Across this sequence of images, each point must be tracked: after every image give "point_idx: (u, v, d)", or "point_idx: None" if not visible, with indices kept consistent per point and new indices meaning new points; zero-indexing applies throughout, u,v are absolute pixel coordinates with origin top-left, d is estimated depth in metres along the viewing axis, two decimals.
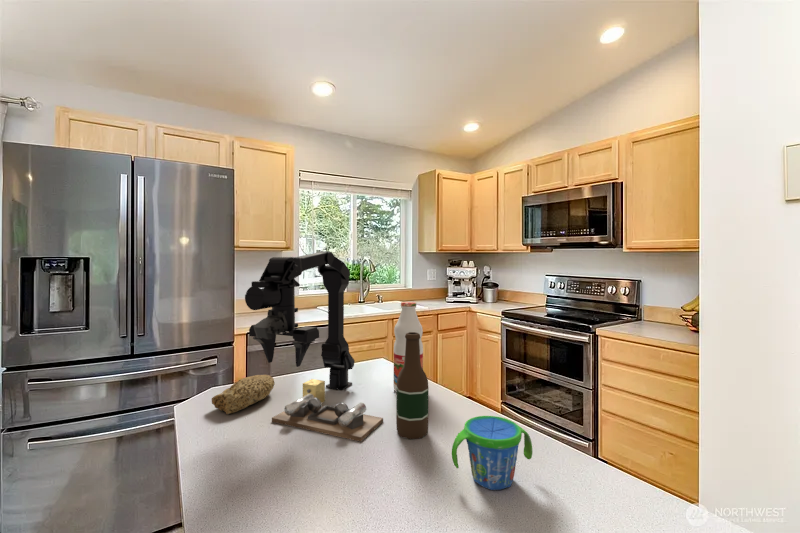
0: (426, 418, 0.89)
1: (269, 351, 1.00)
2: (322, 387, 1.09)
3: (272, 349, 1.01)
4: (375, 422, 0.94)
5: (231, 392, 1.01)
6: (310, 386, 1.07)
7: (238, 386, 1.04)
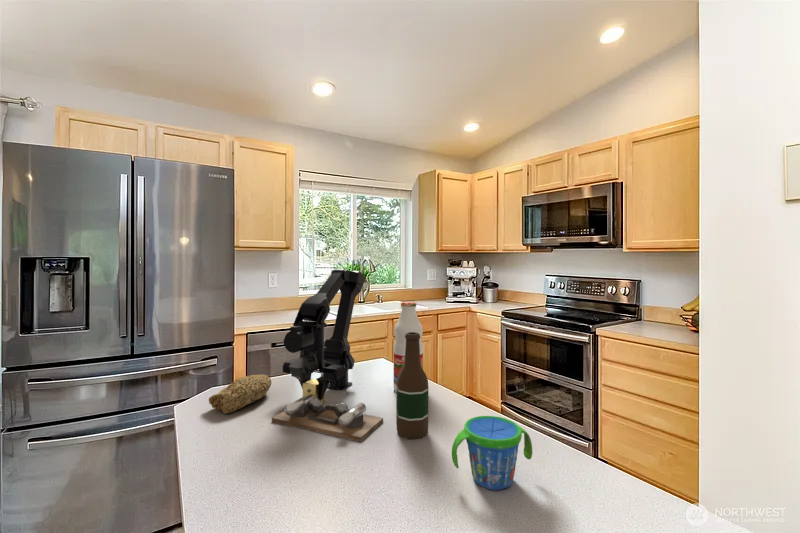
0: (426, 418, 0.89)
1: None
2: None
3: None
4: (375, 422, 0.94)
5: (228, 392, 1.01)
6: (310, 386, 1.07)
7: (235, 386, 1.05)
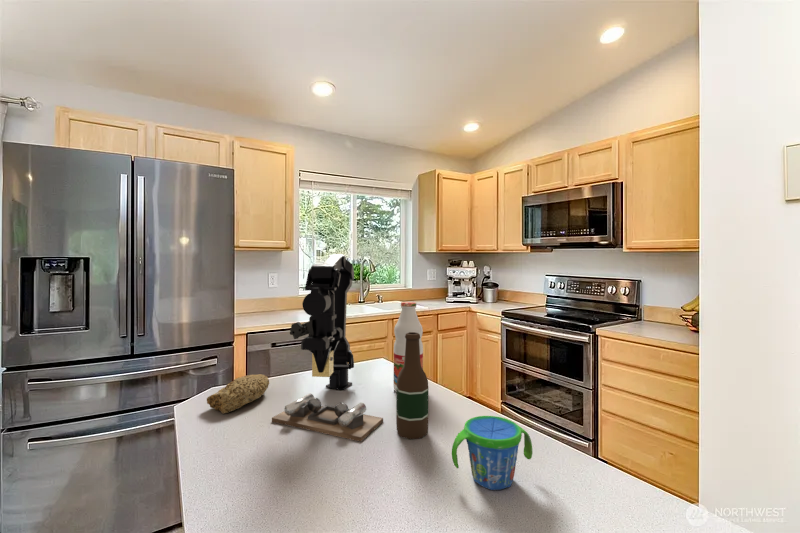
0: (426, 418, 0.89)
1: None
2: None
3: None
4: (375, 422, 0.94)
5: (226, 392, 1.02)
6: None
7: (233, 385, 1.05)
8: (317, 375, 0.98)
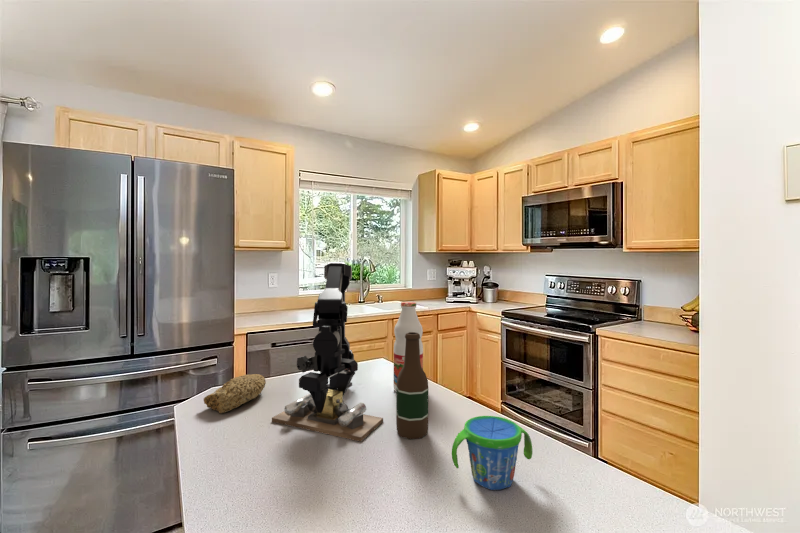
0: (426, 418, 0.89)
1: (339, 388, 1.02)
2: (328, 402, 0.95)
3: (343, 388, 1.01)
4: (375, 422, 0.94)
5: (224, 391, 1.02)
6: None
7: (230, 385, 1.05)
8: (322, 417, 0.96)
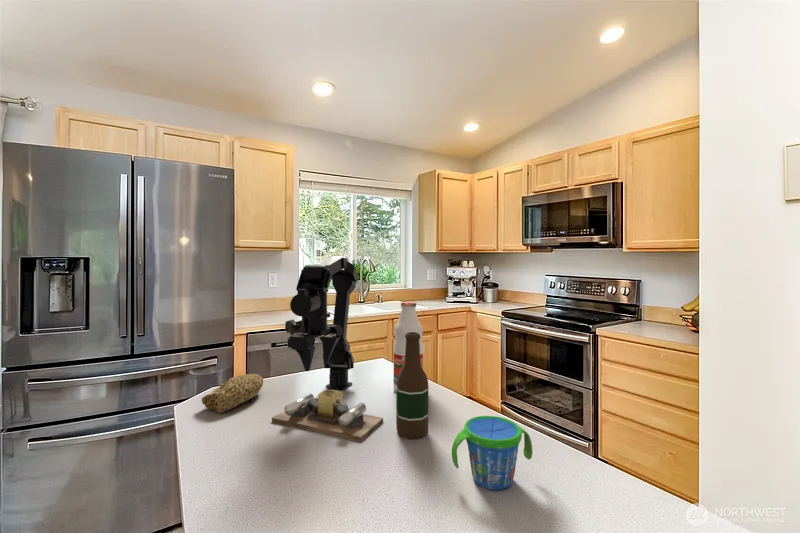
0: (426, 418, 0.89)
1: (325, 351, 1.09)
2: (328, 402, 0.95)
3: (329, 350, 1.09)
4: (375, 422, 0.94)
5: (222, 391, 1.02)
6: None
7: (229, 385, 1.05)
8: (322, 417, 0.96)
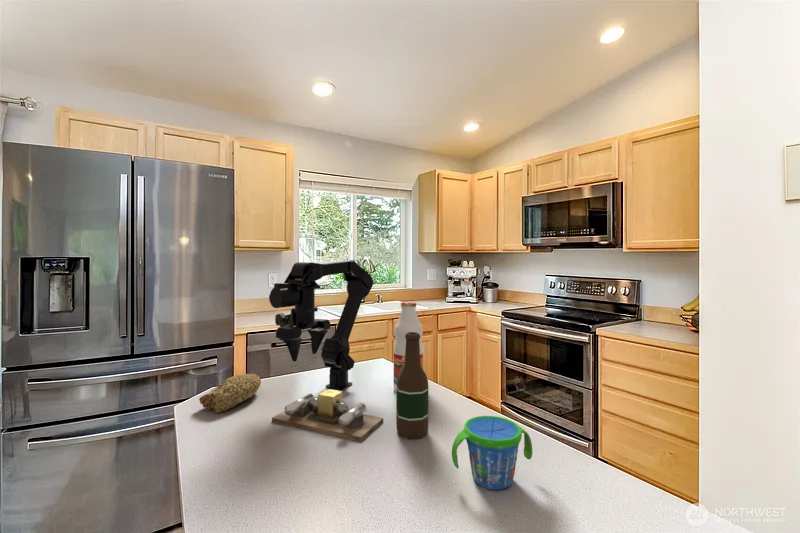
0: (426, 418, 0.89)
1: (313, 344, 1.16)
2: (328, 402, 0.95)
3: (316, 343, 1.15)
4: (375, 422, 0.94)
5: (220, 391, 1.02)
6: None
7: (227, 385, 1.05)
8: (322, 417, 0.96)
